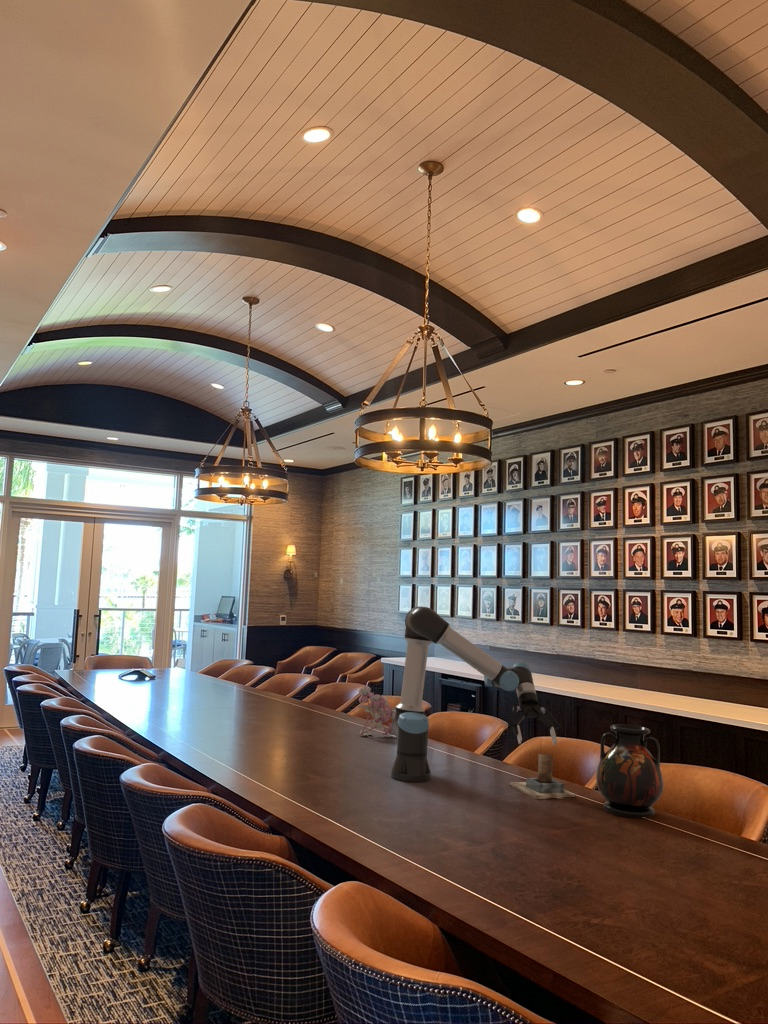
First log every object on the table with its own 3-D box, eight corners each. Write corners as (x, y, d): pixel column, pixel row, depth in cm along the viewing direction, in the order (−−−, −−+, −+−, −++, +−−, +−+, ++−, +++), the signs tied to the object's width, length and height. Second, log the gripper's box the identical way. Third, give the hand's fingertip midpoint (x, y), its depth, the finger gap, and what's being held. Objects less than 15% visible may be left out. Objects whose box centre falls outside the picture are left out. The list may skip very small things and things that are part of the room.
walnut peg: (541, 791, 278) (542, 756, 280) (535, 788, 283) (536, 754, 285) (554, 791, 280) (555, 756, 281) (547, 787, 285) (548, 754, 286)
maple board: (535, 798, 271) (536, 786, 272) (509, 785, 290) (509, 774, 291) (575, 798, 276) (576, 785, 277) (547, 784, 295) (547, 773, 296)
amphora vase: (591, 815, 253) (593, 727, 257) (599, 801, 273) (600, 720, 277) (661, 825, 245) (662, 734, 249) (664, 810, 265) (664, 726, 269)
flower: (378, 739, 366) (397, 690, 376) (340, 728, 378) (359, 681, 389) (396, 753, 380) (414, 705, 391) (359, 742, 393) (377, 696, 403)
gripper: (554, 704, 313) (566, 749, 296) (494, 701, 310) (503, 747, 293) (560, 692, 308) (572, 738, 292) (499, 689, 305) (508, 735, 289)
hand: (537, 742), depth 293 cm, fingers open, 13 cm apart
